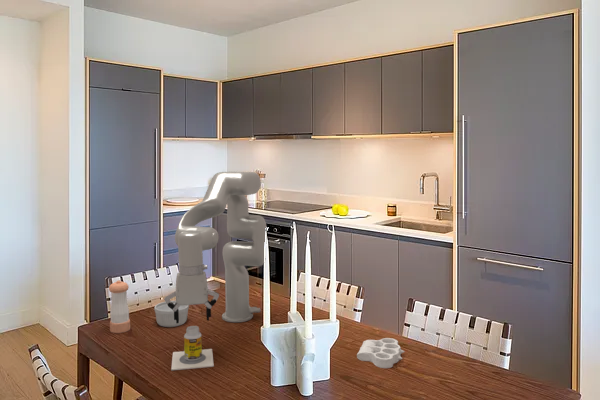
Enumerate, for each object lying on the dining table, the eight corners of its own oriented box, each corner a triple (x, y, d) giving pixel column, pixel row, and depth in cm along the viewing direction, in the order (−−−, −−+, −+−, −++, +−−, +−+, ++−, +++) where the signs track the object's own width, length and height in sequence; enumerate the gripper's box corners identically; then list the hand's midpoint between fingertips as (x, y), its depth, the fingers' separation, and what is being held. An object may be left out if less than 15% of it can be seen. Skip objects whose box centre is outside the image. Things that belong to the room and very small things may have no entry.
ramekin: (196, 320, 193) (195, 304, 192) (171, 331, 182) (170, 313, 181) (173, 314, 200) (172, 298, 199) (147, 324, 189) (147, 307, 188)
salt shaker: (134, 327, 185) (132, 279, 183) (121, 334, 178) (119, 284, 176) (118, 325, 188) (117, 277, 186) (105, 331, 181) (103, 282, 179)
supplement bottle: (188, 363, 153) (187, 332, 152) (182, 356, 158) (181, 326, 157) (204, 359, 156) (203, 328, 155) (198, 352, 161) (197, 323, 160)
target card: (212, 350, 165) (212, 348, 164) (213, 366, 152) (213, 365, 152) (172, 353, 162) (172, 351, 162) (171, 370, 149) (171, 368, 149)
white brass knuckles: (365, 344, 171) (406, 349, 167) (354, 365, 154) (400, 371, 150) (365, 334, 171) (407, 340, 166) (354, 355, 154) (401, 361, 149)
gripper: (217, 264, 159) (219, 314, 162) (163, 268, 156) (165, 318, 158) (218, 270, 152) (220, 322, 154) (162, 274, 148) (164, 327, 151)
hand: (192, 320), depth 156 cm, fingers open, 9 cm apart
